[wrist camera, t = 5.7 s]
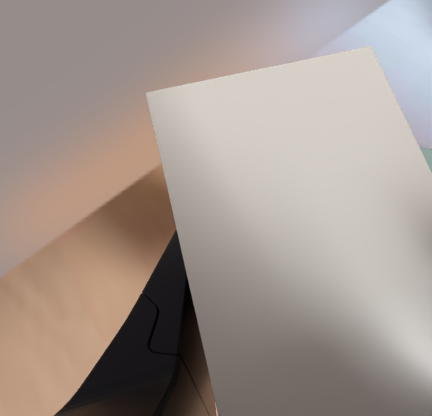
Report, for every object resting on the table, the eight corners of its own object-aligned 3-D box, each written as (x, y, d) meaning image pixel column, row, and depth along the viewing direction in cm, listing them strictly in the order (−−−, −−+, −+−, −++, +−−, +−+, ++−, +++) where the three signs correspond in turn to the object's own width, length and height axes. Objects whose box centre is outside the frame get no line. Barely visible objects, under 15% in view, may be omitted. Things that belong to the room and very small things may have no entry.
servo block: (281, 299, 15) (557, 435, 3) (218, 317, 14) (248, 548, 3) (253, 205, 16) (371, 45, 4) (194, 220, 16) (145, 92, 4)
